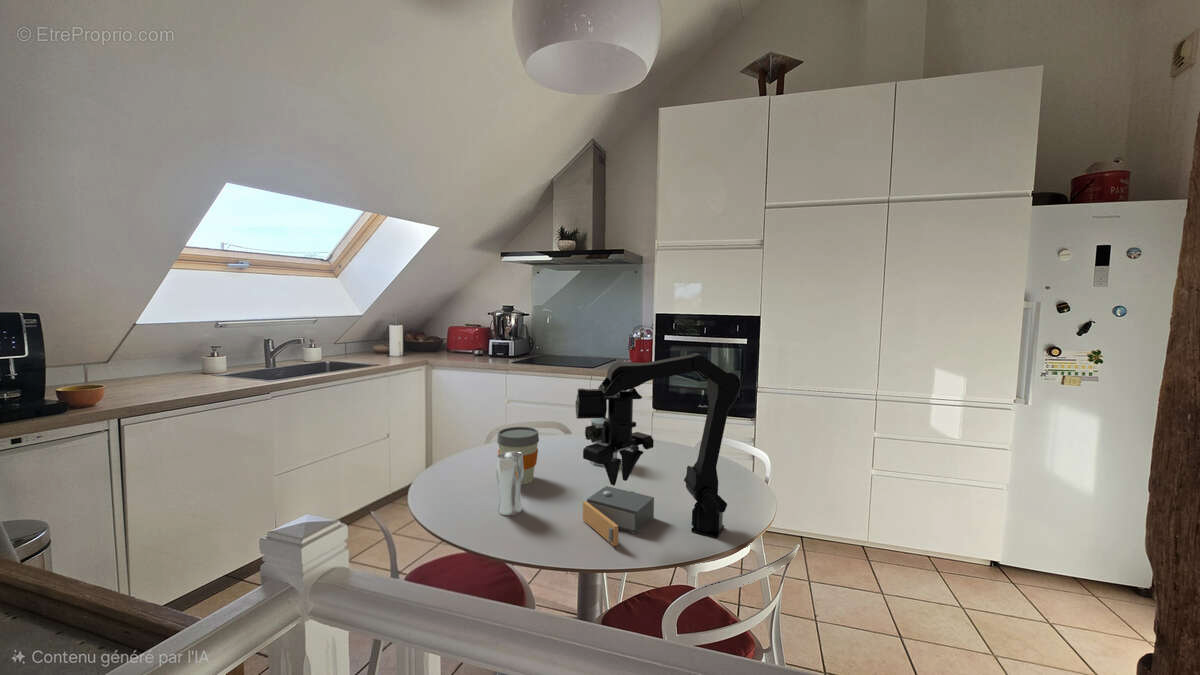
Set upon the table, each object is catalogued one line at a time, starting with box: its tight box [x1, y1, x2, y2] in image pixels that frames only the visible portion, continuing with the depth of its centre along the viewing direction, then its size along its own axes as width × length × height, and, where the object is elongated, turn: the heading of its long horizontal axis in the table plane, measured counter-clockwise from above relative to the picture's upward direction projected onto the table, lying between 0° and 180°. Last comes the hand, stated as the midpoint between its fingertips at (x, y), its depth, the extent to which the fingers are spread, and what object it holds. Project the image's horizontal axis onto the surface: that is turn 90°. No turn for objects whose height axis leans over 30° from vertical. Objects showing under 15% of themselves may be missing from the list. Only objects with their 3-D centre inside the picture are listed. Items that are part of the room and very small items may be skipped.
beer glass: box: [496, 451, 524, 517], centre depth 129 cm, size 7×7×15 cm
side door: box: [582, 500, 619, 547], centre depth 117 cm, size 15×2×5 cm, turn 30°
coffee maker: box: [589, 413, 608, 468], centre depth 166 cm, size 15×9×18 cm, turn 25°
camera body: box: [586, 485, 655, 535], centre depth 126 cm, size 14×12×6 cm
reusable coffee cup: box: [497, 426, 540, 486], centre depth 150 cm, size 13×13×15 cm
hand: (618, 482), depth 115 cm, fingers open, 4 cm apart
